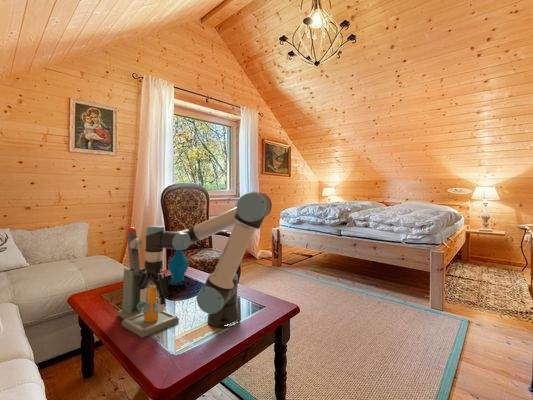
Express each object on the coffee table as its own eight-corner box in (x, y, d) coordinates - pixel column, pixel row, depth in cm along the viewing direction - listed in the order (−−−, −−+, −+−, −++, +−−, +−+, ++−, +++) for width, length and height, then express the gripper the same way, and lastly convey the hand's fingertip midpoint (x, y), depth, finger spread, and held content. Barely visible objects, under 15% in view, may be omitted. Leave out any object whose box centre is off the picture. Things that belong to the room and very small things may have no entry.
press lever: (140, 225, 136) (133, 227, 140) (130, 226, 132) (123, 228, 135) (145, 275, 133) (138, 276, 136) (135, 277, 129) (128, 278, 132)
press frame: (178, 322, 129) (181, 275, 128) (142, 337, 114) (144, 284, 113) (145, 306, 144) (147, 264, 144) (109, 318, 129) (111, 271, 129)
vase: (163, 283, 181) (165, 240, 181) (178, 279, 192) (180, 238, 192) (176, 287, 175) (178, 243, 175) (191, 282, 186) (193, 240, 185)
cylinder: (153, 327, 119) (155, 292, 118) (131, 323, 121) (133, 289, 121) (169, 315, 131) (170, 283, 130) (149, 312, 133) (150, 281, 133)
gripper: (178, 263, 121) (176, 312, 122) (145, 254, 135) (143, 297, 136) (163, 266, 115) (161, 317, 116) (130, 256, 129) (128, 302, 130)
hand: (151, 307), depth 126 cm, fingers open, 13 cm apart
